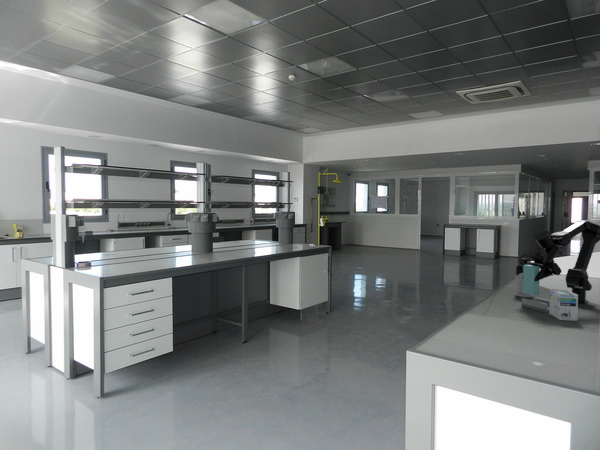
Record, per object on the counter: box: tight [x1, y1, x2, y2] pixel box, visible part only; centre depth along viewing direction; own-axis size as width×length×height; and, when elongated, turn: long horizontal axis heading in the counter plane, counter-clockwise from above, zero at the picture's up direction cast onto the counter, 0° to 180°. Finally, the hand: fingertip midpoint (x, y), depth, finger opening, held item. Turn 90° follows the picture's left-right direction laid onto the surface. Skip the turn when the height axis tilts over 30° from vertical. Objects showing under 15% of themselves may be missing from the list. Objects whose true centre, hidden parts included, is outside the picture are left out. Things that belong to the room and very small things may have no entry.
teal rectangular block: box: [523, 265, 540, 296], centre depth 181 cm, size 6×3×13 cm, turn 17°
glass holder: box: [513, 265, 534, 298], centre depth 208 cm, size 9×14×15 cm, turn 158°
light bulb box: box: [548, 288, 579, 322], centre depth 162 cm, size 11×7×11 cm, turn 168°
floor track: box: [521, 296, 550, 314], centre depth 177 cm, size 12×9×4 cm
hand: (528, 279), depth 180 cm, fingers closed on teal rectangular block, 6 cm apart
